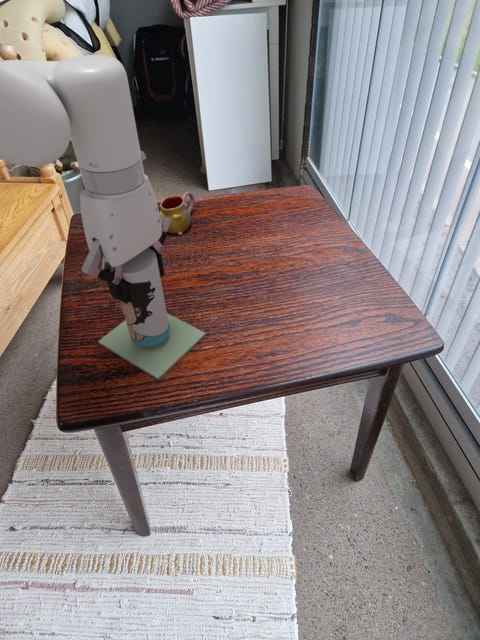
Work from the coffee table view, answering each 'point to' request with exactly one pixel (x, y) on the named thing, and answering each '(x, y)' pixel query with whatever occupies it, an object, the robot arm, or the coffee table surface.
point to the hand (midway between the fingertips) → (139, 285)
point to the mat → (154, 347)
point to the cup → (145, 300)
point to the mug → (177, 212)
